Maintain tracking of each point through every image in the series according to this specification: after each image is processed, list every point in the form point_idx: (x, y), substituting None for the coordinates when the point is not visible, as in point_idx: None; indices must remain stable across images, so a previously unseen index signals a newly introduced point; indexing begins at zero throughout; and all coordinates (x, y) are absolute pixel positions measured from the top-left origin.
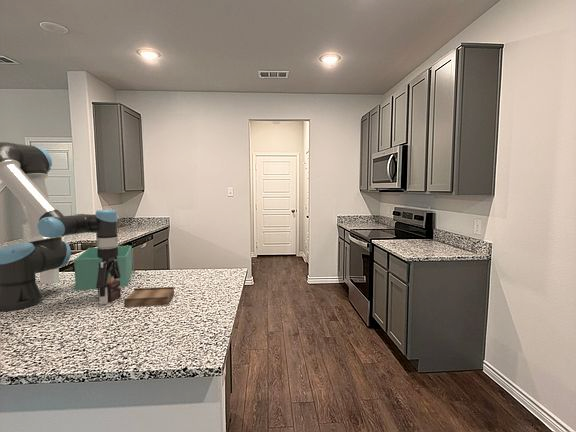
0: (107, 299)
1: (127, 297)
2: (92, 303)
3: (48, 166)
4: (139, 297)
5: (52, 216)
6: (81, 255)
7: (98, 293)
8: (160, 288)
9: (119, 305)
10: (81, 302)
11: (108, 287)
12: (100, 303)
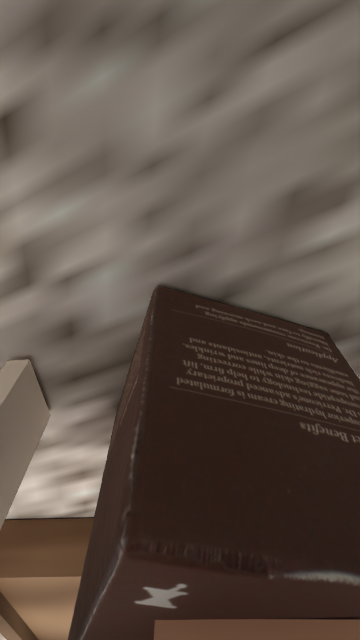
0: (31, 452)
1: (59, 577)
2: (56, 253)
3: None
4: (68, 618)
5: None
6: None
7: (143, 353)
8: None
9: (30, 489)
10: (91, 28)
11: (80, 589)
12: (4, 375)
